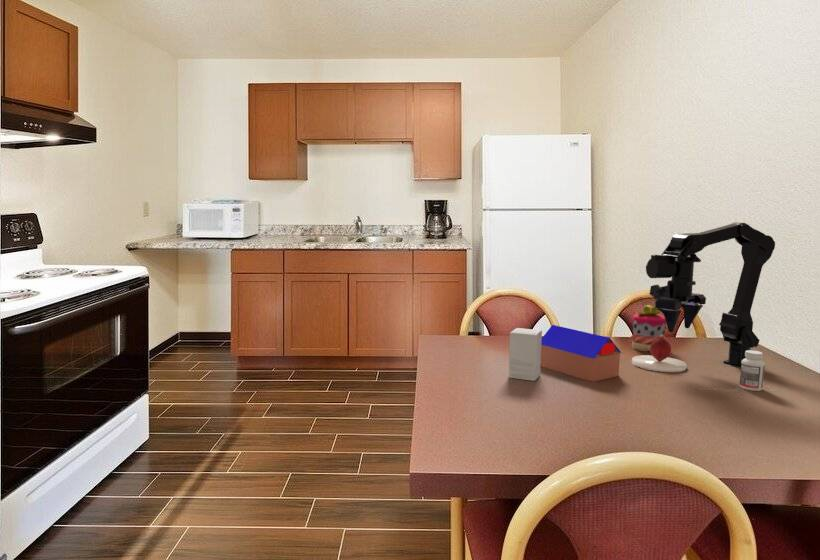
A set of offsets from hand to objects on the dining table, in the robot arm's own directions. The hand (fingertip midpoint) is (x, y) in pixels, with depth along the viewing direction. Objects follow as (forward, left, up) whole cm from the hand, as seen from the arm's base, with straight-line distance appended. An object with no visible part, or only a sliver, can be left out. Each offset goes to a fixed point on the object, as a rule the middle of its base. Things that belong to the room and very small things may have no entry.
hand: (678, 330), depth 179 cm
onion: (+4, -3, -10) cm, 11 cm away
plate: (+4, -3, -11) cm, 12 cm away
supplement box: (+47, -18, -11) cm, 51 cm away
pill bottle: (+5, +23, -11) cm, 26 cm away
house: (+29, -14, -11) cm, 34 cm away
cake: (-14, -17, -11) cm, 25 cm away
